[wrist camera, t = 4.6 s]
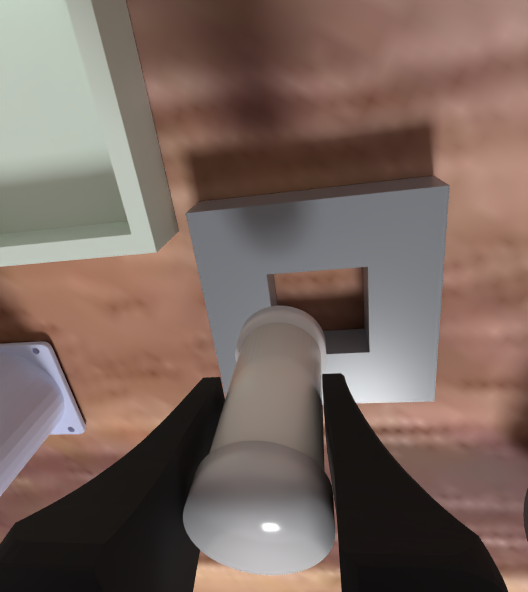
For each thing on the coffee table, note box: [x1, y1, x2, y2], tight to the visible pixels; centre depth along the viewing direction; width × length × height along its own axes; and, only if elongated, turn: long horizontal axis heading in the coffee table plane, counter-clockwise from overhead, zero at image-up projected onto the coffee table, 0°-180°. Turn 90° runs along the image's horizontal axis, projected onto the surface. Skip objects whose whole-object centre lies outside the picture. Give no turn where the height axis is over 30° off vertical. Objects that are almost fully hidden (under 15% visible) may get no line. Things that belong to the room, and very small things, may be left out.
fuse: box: [183, 306, 335, 575], centre depth 13 cm, size 4×4×8 cm
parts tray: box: [0, 0, 179, 267], centre depth 19 cm, size 13×13×4 cm
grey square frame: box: [186, 176, 449, 404], centre depth 22 cm, size 12×12×2 cm
